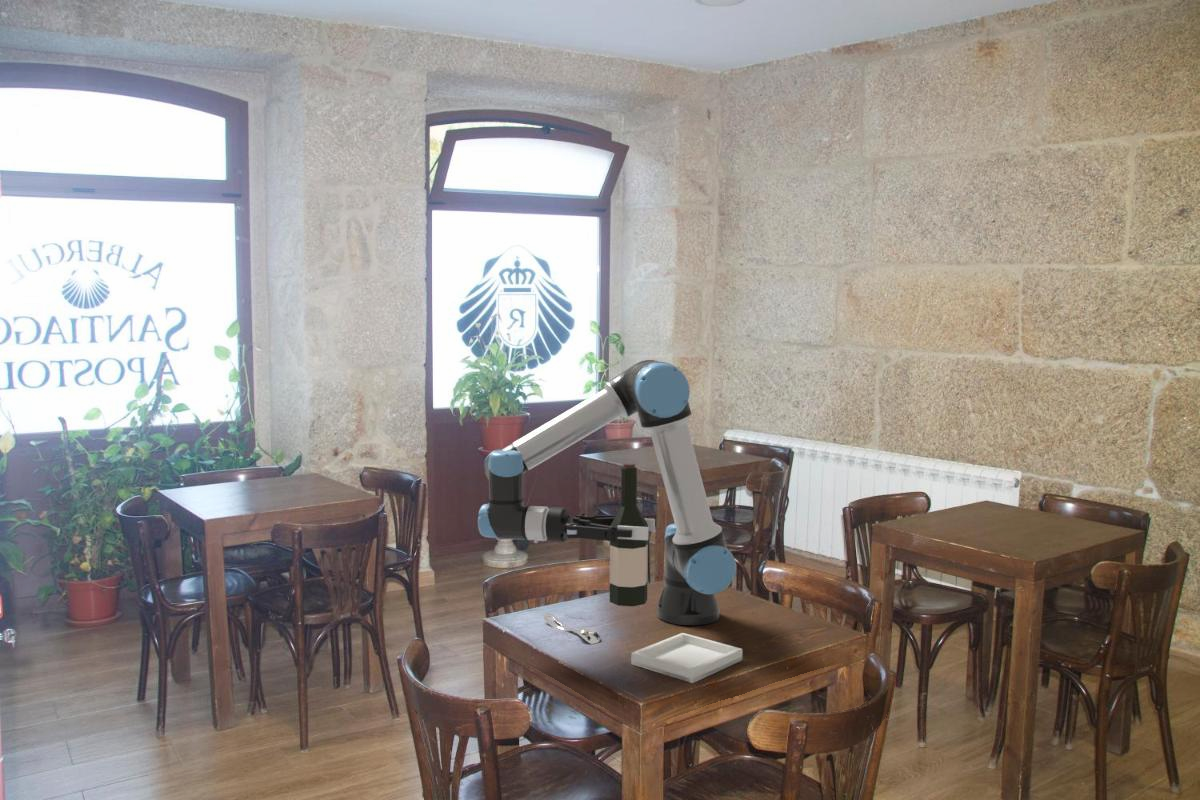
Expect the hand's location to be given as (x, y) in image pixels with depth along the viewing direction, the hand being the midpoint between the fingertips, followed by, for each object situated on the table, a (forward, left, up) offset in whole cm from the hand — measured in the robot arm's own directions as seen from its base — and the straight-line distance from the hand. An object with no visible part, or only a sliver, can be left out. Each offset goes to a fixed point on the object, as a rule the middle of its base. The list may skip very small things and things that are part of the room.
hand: (651, 529), depth 217 cm
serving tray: (-2, +8, -28) cm, 29 cm away
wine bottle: (+2, -4, -16) cm, 17 cm away
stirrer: (0, -24, -29) cm, 37 cm away
